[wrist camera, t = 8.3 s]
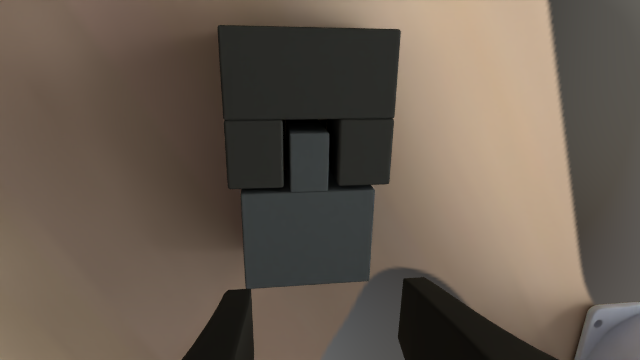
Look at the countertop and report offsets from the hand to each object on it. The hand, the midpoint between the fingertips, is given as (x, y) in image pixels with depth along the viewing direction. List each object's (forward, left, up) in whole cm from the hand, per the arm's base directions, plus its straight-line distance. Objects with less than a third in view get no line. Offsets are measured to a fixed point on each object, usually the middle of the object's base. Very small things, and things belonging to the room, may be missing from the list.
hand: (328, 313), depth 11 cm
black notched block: (+5, 0, -7) cm, 9 cm away
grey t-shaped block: (+1, 0, -7) cm, 7 cm away
